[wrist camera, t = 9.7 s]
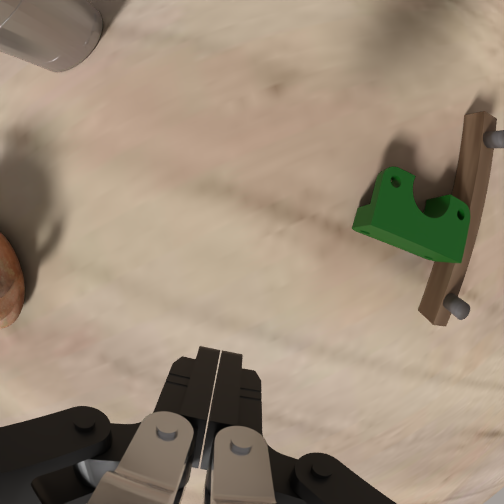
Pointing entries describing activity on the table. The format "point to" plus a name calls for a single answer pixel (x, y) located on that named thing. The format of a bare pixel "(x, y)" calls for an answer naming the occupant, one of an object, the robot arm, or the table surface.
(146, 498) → the robot arm
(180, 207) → the table surface
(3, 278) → the ceramic jug
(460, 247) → the clamp
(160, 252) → the table surface
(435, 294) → the bar
